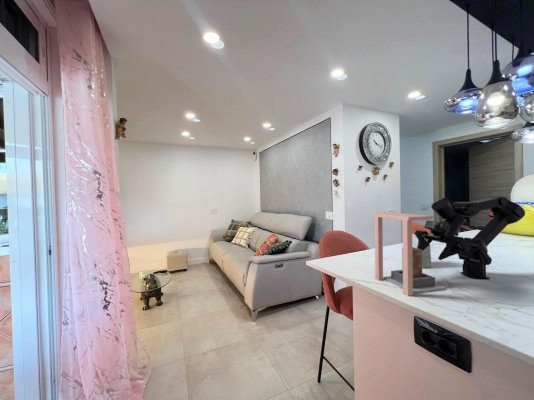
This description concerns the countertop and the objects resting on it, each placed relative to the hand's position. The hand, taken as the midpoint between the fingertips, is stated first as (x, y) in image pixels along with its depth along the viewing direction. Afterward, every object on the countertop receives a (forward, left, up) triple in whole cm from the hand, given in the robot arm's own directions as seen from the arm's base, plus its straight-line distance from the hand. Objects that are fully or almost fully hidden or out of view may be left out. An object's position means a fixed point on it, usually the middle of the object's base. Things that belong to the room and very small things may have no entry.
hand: (427, 256), depth 84 cm
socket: (+7, +2, -10) cm, 13 cm away
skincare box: (-9, -21, -11) cm, 25 cm away
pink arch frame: (+12, +4, -10) cm, 16 cm away
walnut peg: (+7, +2, -9) cm, 12 cm away
